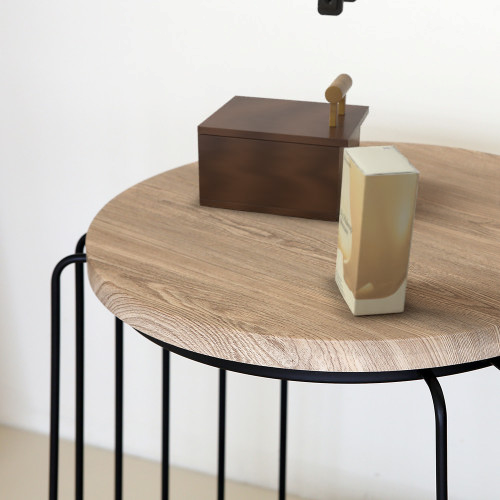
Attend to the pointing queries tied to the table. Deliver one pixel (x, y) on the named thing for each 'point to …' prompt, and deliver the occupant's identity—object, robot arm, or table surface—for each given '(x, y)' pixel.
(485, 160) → the table surface
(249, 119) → the lid
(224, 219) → the table surface
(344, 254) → the cosmetic box
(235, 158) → the chest
